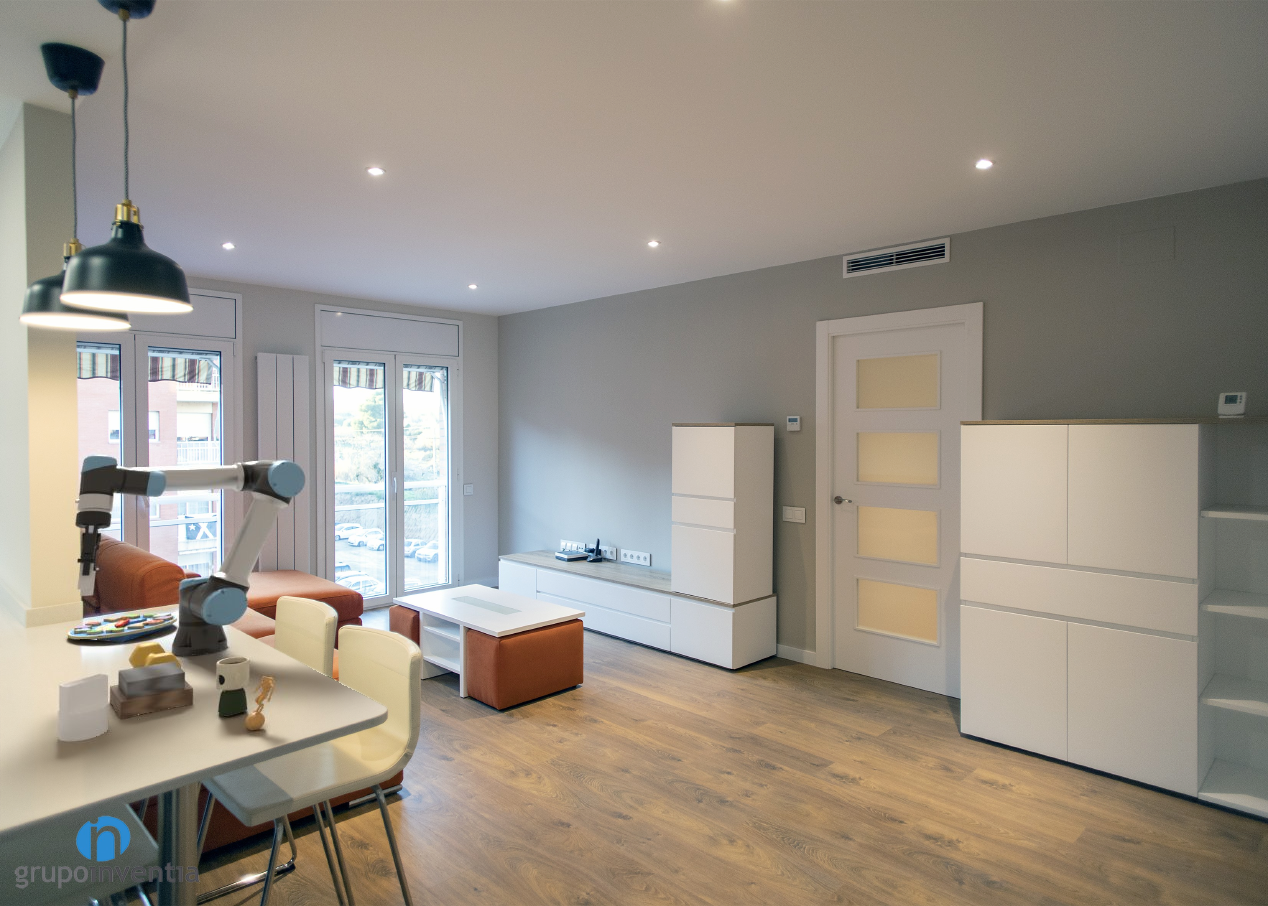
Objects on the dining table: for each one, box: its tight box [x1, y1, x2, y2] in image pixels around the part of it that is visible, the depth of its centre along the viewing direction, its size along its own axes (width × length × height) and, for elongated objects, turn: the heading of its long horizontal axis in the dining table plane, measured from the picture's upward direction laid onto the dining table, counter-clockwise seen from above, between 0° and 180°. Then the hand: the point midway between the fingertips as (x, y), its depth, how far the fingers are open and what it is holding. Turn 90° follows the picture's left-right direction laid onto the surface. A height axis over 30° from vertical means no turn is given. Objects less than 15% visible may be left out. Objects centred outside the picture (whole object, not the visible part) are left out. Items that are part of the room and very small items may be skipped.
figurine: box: [244, 675, 275, 731], centre depth 165 cm, size 8×6×12 cm
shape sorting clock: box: [67, 612, 178, 643], centre depth 245 cm, size 31×30×6 cm
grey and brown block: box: [109, 661, 194, 720], centre depth 180 cm, size 15×15×8 cm
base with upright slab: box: [57, 673, 110, 742], centre depth 161 cm, size 9×9×12 cm
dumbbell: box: [128, 641, 183, 669], centre depth 200 cm, size 19×9×8 cm, turn 46°
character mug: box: [215, 656, 250, 717], centre depth 174 cm, size 11×7×13 cm, turn 39°
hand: (85, 592), depth 185 cm, fingers open, 13 cm apart
